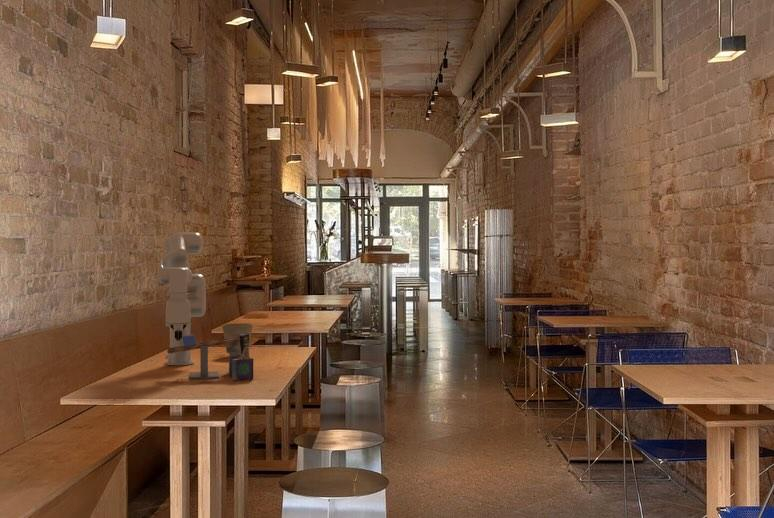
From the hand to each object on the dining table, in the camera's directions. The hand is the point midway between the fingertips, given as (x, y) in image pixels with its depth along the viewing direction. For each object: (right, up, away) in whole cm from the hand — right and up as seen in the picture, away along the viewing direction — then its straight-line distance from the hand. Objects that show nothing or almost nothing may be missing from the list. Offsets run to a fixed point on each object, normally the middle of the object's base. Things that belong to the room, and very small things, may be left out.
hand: (178, 340), depth 356 cm
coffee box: (+22, -16, +20) cm, 34 cm away
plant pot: (+13, -15, +67) cm, 70 cm away
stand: (+14, -16, +4) cm, 21 cm away
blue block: (+5, -3, +1) cm, 6 cm away
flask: (+28, -16, -6) cm, 33 cm away
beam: (+11, -7, +3) cm, 13 cm away
